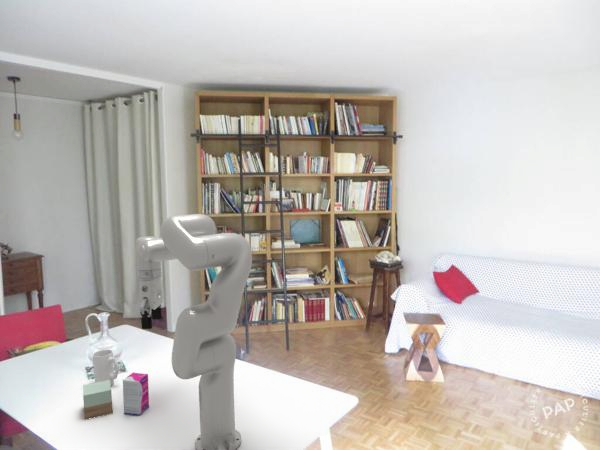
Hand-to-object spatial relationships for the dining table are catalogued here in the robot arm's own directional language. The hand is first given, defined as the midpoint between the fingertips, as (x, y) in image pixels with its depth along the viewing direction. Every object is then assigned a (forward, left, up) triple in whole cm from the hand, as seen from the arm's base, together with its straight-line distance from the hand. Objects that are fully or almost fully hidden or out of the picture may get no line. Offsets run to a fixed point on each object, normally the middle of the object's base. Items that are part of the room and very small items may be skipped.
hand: (152, 323), depth 146 cm
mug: (+18, +14, -26) cm, 35 cm away
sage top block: (0, +18, -22) cm, 28 cm away
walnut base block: (0, +18, -26) cm, 32 cm away
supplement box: (-6, +7, -26) cm, 28 cm away
